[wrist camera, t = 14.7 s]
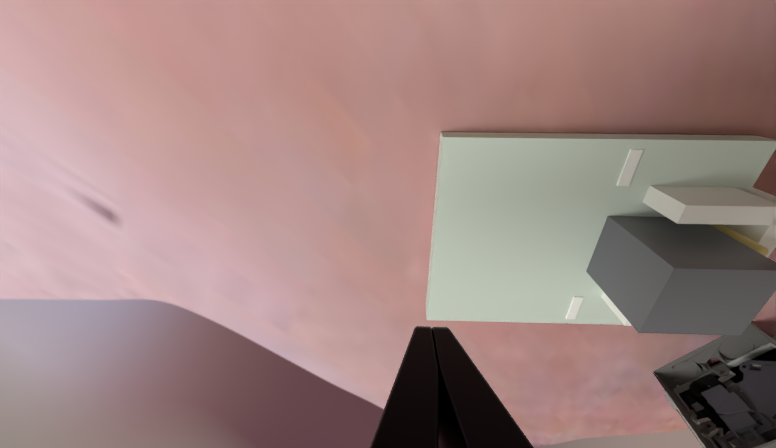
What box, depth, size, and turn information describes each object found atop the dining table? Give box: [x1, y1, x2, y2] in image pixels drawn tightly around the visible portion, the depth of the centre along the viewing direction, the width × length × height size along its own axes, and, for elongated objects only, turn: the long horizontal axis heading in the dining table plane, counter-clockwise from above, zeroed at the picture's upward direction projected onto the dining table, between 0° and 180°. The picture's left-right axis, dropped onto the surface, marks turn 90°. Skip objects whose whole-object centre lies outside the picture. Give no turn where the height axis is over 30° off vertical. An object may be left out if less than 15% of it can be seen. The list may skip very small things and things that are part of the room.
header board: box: [426, 132, 776, 326], centre depth 18 cm, size 17×13×4 cm
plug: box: [586, 216, 776, 335], centre depth 17 cm, size 4×5×5 cm
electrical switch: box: [653, 323, 776, 448], centre depth 21 cm, size 9×5×9 cm, turn 141°
